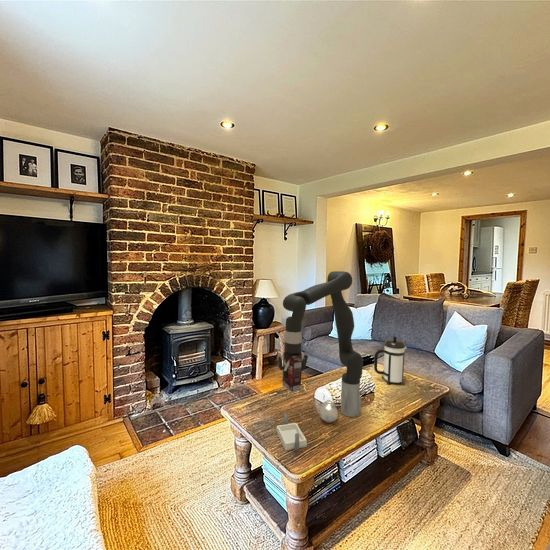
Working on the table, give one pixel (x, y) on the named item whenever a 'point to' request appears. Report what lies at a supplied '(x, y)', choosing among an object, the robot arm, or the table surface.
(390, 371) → the coffee press
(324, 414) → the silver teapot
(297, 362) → the supplement box
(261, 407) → the table surface
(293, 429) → the holder caddy
